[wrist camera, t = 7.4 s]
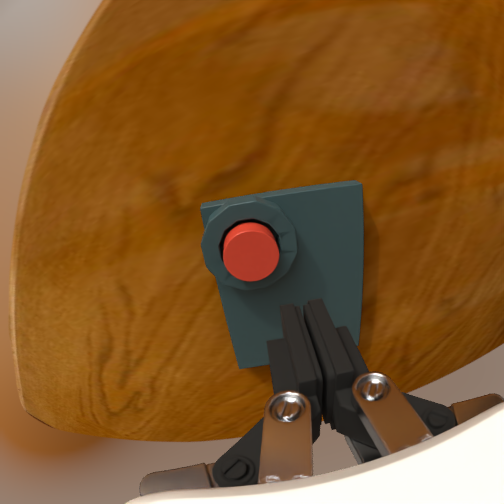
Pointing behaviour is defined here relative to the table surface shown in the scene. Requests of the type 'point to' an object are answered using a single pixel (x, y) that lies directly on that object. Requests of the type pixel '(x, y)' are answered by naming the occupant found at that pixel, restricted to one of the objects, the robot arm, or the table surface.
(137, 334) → the table surface
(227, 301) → the grey kitchen scale
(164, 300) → the table surface
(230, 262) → the button
